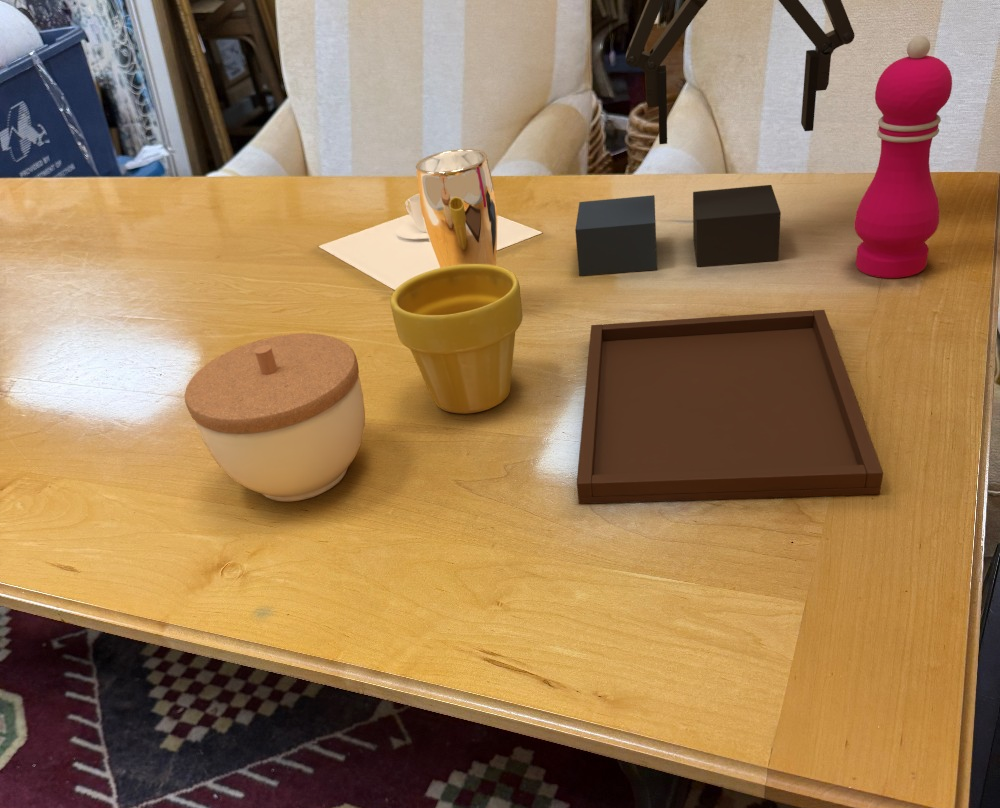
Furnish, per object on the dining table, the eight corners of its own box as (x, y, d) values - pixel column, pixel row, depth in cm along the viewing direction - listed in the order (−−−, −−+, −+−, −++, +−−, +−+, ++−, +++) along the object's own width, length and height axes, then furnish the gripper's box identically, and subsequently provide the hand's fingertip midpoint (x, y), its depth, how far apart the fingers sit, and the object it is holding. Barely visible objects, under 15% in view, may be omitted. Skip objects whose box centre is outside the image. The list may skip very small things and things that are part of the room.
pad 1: (655, 240, 100) (654, 195, 97) (657, 270, 93) (655, 222, 90) (582, 246, 101) (579, 201, 98) (579, 276, 95) (575, 229, 92)
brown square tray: (822, 328, 79) (824, 309, 78) (880, 494, 60) (883, 472, 59) (592, 342, 83) (591, 324, 82) (578, 504, 64) (576, 483, 63)
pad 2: (769, 230, 97) (771, 184, 94) (778, 260, 91) (780, 212, 88) (693, 237, 99) (692, 191, 96) (696, 267, 93) (696, 219, 90)
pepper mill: (836, 272, 87) (857, 45, 75) (870, 245, 91) (896, 25, 79) (911, 286, 83) (946, 48, 71) (944, 257, 87) (982, 26, 75)
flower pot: (461, 355, 84) (443, 254, 78) (555, 377, 78) (543, 270, 73) (388, 410, 78) (362, 305, 72) (484, 438, 72) (465, 326, 66)
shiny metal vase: (431, 310, 93) (403, 161, 84) (494, 291, 94) (472, 143, 86) (456, 335, 87) (428, 179, 79) (521, 314, 89) (501, 159, 80)
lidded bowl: (238, 545, 65) (186, 415, 59) (211, 462, 75) (164, 341, 68) (402, 487, 68) (371, 357, 62) (356, 414, 78) (325, 294, 71)
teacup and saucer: (476, 228, 110) (471, 195, 107) (420, 249, 107) (413, 215, 104) (439, 213, 116) (433, 181, 113) (385, 232, 113) (378, 200, 110)
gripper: (589, -105, 75) (604, 157, 88) (911, -150, 71) (877, 132, 83) (593, -113, 81) (606, 134, 93) (890, -154, 76) (861, 110, 89)
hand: (734, 134), depth 88 cm, fingers open, 13 cm apart
